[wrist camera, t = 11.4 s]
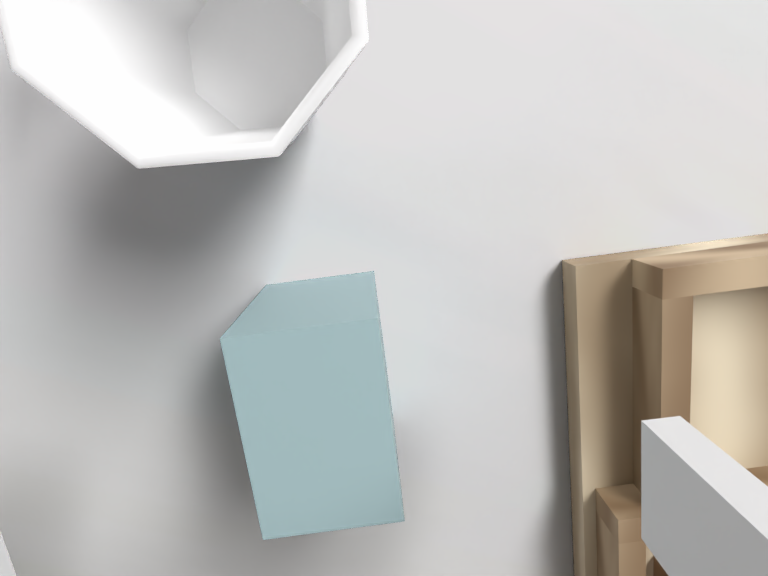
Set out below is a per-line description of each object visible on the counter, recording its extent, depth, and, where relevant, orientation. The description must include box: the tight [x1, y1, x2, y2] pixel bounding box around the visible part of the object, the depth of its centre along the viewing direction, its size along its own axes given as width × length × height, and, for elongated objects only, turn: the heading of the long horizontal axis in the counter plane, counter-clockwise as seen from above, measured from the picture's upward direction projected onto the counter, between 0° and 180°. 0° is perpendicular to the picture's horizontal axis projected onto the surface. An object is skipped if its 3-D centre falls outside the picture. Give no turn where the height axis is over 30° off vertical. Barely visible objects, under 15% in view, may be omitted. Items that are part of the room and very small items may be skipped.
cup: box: [0, 0, 369, 169], centre depth 12 cm, size 7×10×8 cm
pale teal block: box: [220, 271, 405, 540], centre depth 16 cm, size 4×6×6 cm, turn 7°
